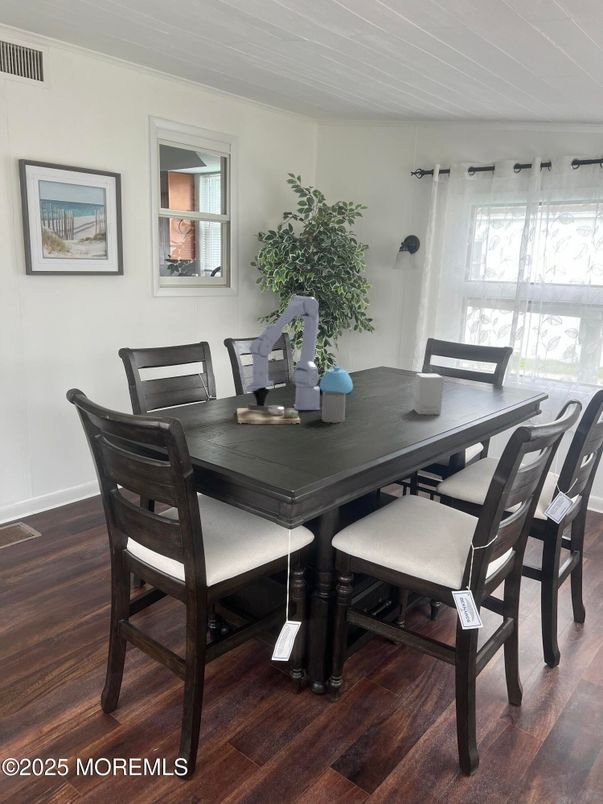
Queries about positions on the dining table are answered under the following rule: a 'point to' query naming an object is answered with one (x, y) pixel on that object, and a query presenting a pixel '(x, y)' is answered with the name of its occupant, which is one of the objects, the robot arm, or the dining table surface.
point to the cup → (333, 406)
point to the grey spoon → (267, 409)
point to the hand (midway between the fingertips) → (260, 407)
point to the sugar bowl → (336, 381)
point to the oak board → (267, 417)
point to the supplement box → (428, 393)
